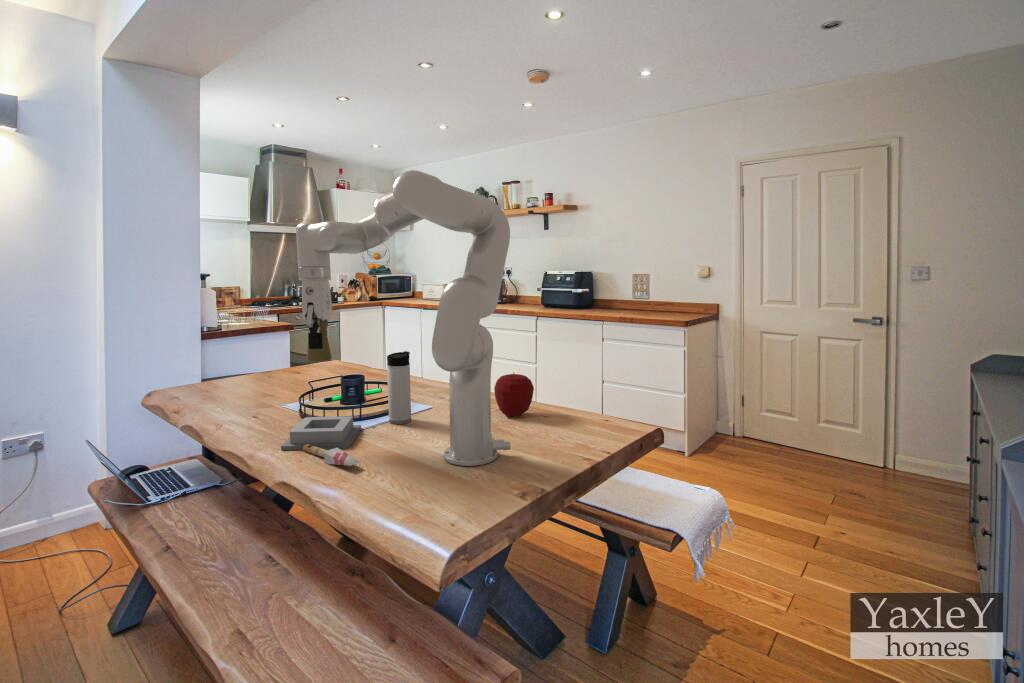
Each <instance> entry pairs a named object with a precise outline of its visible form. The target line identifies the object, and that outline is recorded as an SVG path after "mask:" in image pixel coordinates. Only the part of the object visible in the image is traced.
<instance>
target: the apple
mask: <svg viewBox="0 0 1024 683" xmlns="http://www.w3.org/2000/svg"><path fill="white" fill-rule="evenodd" d="M493 388H494V390H493V391H494V397H495V401H496V403H497V407H498V409H499V411H500V412H501V413H502V414H503V415H504V416H505V417H506V418H511V419H513V418H514V419H515V418H519V417H521V416H523V415H524V414H525V413H526V412H527V411H528V410H529V409H530V407H531V403H532V401H533V396H534V390H535V388H534V385H533V381H532V380H531V379H530V378H529V377H528V376H527V375H524V374H519V373H515V372H513V373H511V374H505V375H501V376H500V377H499V378H497V380H496V382H495V384H494V387H493Z"/></svg>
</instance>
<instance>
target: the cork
mask: <svg viewBox="0 0 1024 683" xmlns="http://www.w3.org/2000/svg"><path fill="white" fill-rule="evenodd" d="M313 320H318V318H313ZM316 324H317V323H316ZM305 326H306V328H307V329H308V325H307V323H306V322H305ZM328 326H329V319H326V320H323V321H322V320H320V333H322V344H323V348H322V349H309V341H308V340H307V345H306V346H307V347H306V359H305V360H306V361H308V362H326V361H329V360H332V354H331V348H330V343H329V338H328V337H329V336H328V331H327V332H326V328H327V329H328Z"/></svg>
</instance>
